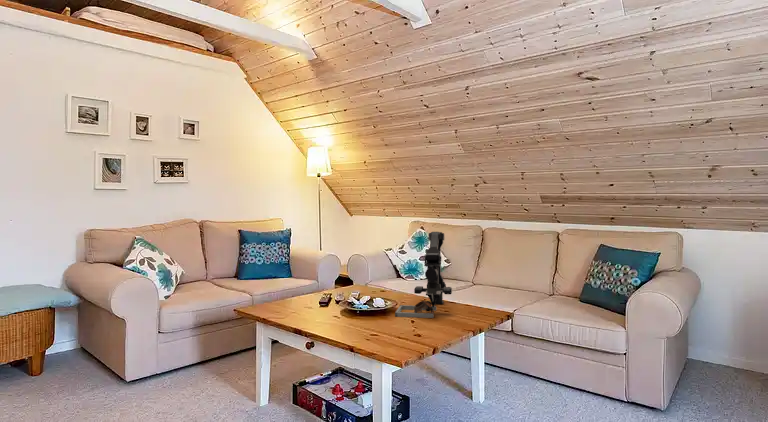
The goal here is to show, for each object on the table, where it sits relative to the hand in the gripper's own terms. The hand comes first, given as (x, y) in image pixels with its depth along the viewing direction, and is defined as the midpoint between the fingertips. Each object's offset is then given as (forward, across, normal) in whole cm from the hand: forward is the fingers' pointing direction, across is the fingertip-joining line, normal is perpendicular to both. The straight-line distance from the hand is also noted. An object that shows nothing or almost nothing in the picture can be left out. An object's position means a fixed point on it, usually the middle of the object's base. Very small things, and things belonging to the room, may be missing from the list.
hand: (433, 307), depth 255 cm
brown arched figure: (+4, -4, -2) cm, 6 cm away
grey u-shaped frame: (+4, -9, 0) cm, 10 cm away
